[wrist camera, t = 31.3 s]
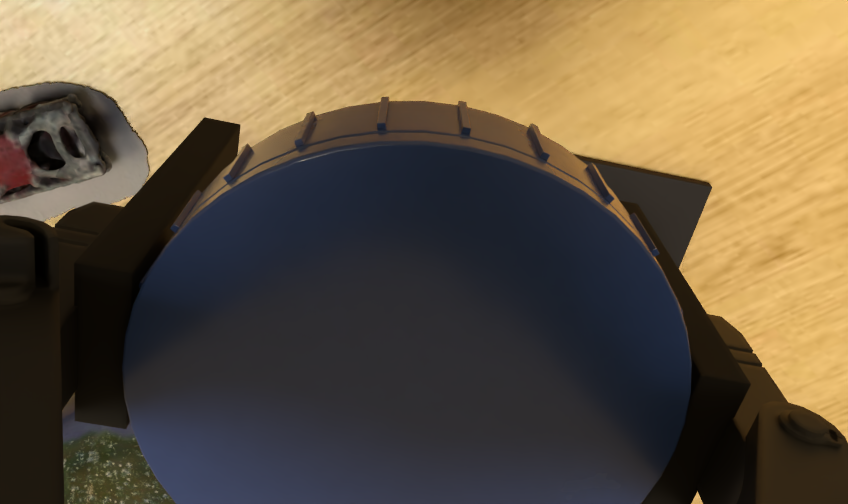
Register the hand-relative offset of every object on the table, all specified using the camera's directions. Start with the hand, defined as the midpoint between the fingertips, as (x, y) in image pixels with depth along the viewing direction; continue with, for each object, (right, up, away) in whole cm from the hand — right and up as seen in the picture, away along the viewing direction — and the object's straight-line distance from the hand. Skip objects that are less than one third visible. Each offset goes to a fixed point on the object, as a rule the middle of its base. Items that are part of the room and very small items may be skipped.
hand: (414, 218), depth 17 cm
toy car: (-21, +4, +23) cm, 31 cm away
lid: (0, -3, -6) cm, 6 cm away
